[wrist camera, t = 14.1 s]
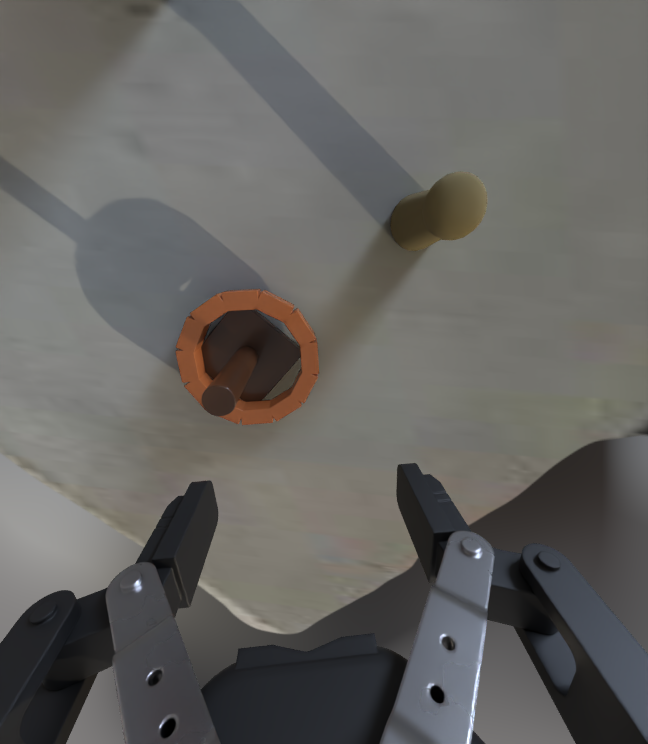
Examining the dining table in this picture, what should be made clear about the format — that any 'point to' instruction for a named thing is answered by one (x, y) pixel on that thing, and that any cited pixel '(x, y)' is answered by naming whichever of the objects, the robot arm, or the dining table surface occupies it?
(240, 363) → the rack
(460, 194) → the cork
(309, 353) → the hoop
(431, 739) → the robot arm
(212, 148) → the dining table surface
